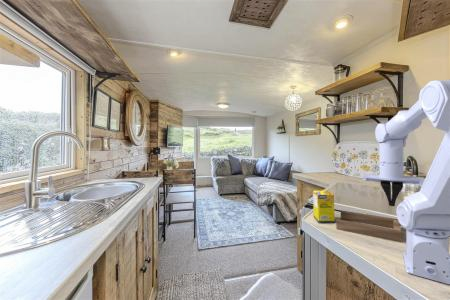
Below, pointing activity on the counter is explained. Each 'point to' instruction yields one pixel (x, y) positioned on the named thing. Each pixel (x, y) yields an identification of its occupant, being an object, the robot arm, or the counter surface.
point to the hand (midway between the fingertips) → (391, 205)
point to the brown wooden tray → (369, 229)
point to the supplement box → (323, 206)
